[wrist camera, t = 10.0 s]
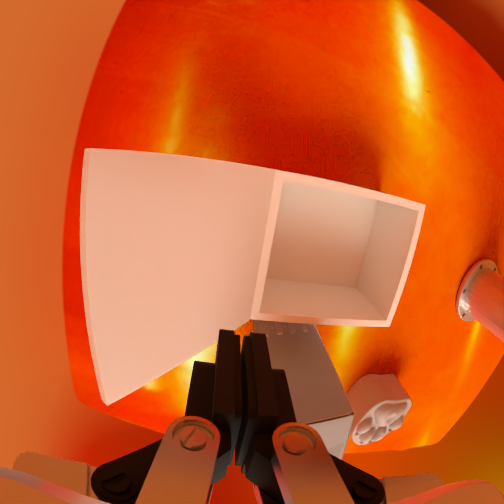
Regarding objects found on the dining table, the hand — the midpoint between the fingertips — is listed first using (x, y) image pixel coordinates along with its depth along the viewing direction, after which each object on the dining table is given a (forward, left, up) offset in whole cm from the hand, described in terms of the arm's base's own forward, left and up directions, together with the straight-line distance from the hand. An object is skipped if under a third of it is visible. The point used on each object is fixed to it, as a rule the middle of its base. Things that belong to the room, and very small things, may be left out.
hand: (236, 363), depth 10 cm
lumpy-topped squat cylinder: (-29, +29, -26) cm, 49 cm away
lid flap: (+2, 0, -9) cm, 9 cm away
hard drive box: (-10, +18, -26) cm, 33 cm away
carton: (-11, 0, -25) cm, 28 cm away
